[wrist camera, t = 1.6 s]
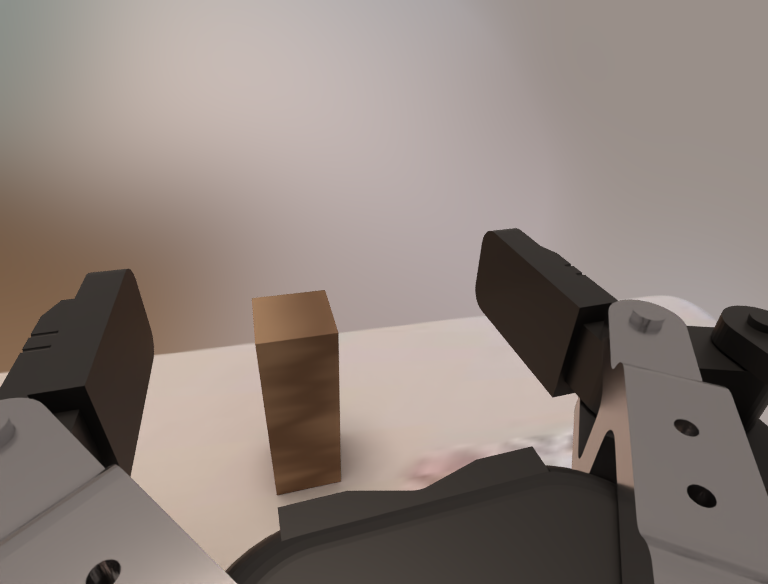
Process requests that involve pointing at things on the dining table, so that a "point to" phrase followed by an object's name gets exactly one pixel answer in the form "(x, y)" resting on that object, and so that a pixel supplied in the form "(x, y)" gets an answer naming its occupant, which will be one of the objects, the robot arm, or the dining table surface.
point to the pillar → (300, 387)
